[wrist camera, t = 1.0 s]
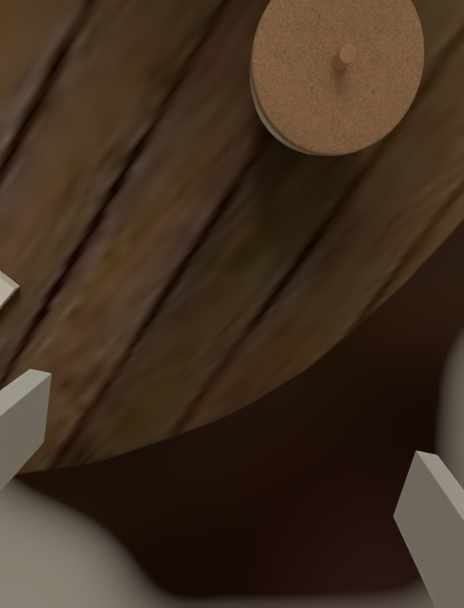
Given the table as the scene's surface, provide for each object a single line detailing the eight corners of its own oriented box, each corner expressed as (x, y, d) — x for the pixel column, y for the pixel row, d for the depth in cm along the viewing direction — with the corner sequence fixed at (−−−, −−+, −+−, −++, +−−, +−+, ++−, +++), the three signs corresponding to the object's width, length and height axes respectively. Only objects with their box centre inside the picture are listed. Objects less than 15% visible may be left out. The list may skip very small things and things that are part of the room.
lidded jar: (302, 189, 35) (335, 191, 26) (213, 85, 32) (215, 47, 23) (403, 94, 33) (475, 60, 24) (318, -24, 31) (363, -110, 22)
